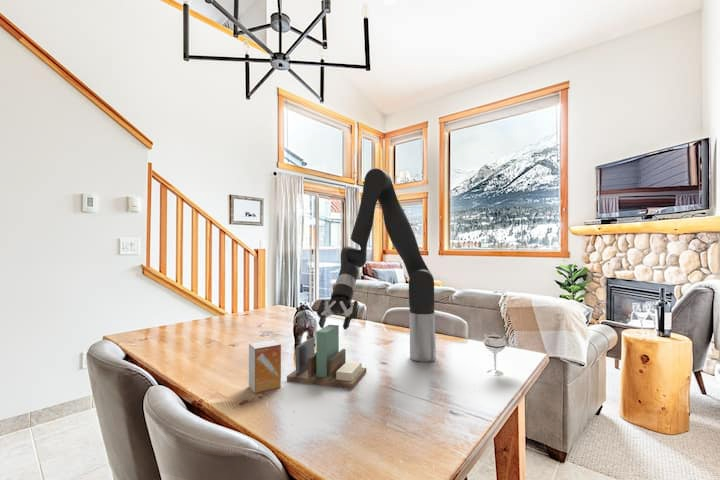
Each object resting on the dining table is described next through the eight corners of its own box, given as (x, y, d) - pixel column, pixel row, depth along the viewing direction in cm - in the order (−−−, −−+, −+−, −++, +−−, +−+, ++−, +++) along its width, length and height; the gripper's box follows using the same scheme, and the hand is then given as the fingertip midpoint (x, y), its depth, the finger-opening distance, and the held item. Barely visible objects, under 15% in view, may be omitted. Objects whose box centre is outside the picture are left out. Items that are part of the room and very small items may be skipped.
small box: (254, 394, 99) (254, 348, 99) (248, 386, 104) (248, 343, 104) (281, 387, 103) (281, 344, 103) (274, 380, 108) (274, 339, 109)
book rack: (366, 372, 114) (366, 349, 115) (352, 389, 101) (352, 363, 101) (306, 366, 121) (306, 344, 121) (286, 380, 108) (286, 357, 108)
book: (338, 366, 116) (338, 325, 116) (326, 377, 106) (326, 332, 107) (329, 365, 117) (329, 324, 117) (316, 376, 107) (316, 331, 108)
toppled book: (361, 369, 113) (361, 362, 113) (351, 381, 103) (351, 373, 103) (347, 368, 114) (347, 361, 114) (336, 379, 105) (336, 371, 105)
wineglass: (505, 370, 115) (505, 334, 116) (507, 377, 109) (506, 339, 109) (484, 368, 118) (483, 332, 118) (484, 375, 111) (484, 338, 111)
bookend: (314, 364, 119) (314, 338, 119) (299, 375, 108) (299, 347, 108) (311, 363, 119) (311, 337, 119) (295, 375, 109) (295, 346, 109)
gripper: (323, 282, 126) (309, 320, 115) (360, 283, 122) (350, 322, 111) (329, 295, 131) (316, 332, 120) (364, 295, 127) (355, 334, 116)
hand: (332, 327), depth 115 cm, fingers open, 8 cm apart
